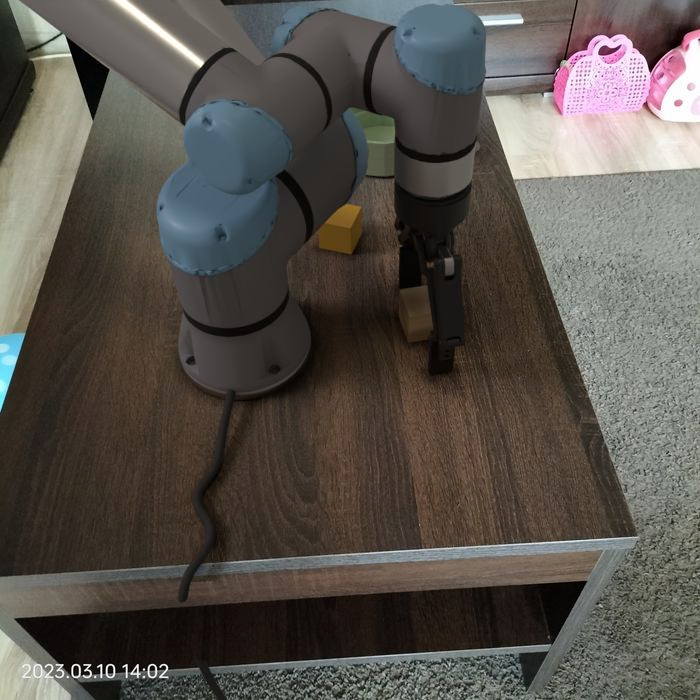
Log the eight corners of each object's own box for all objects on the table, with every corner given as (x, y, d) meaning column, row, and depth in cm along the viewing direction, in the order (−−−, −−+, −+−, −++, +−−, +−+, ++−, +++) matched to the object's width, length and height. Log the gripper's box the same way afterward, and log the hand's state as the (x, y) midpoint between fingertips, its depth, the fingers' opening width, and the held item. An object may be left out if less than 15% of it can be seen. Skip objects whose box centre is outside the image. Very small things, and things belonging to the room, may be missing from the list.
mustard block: (351, 254, 95) (350, 228, 92) (319, 248, 96) (317, 221, 93) (362, 233, 98) (361, 206, 94) (330, 226, 99) (329, 200, 95)
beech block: (445, 337, 85) (448, 310, 82) (407, 343, 85) (409, 317, 81) (434, 309, 88) (437, 283, 85) (398, 315, 88) (399, 289, 84)
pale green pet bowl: (425, 182, 104) (427, 146, 100) (328, 175, 106) (326, 139, 102) (433, 127, 114) (435, 91, 109) (343, 121, 115) (342, 86, 111)
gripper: (514, 256, 62) (488, 403, 78) (435, 105, 79) (426, 252, 95) (430, 270, 62) (420, 416, 78) (367, 115, 78) (370, 261, 94)
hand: (424, 327), depth 86 cm, fingers open, 13 cm apart
